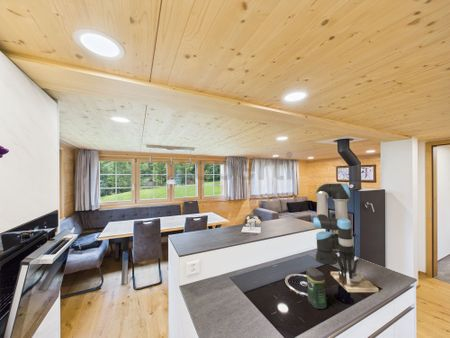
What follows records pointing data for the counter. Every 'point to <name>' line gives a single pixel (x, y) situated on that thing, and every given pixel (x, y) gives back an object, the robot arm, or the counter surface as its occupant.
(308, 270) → the coffee jar
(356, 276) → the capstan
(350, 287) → the stand
